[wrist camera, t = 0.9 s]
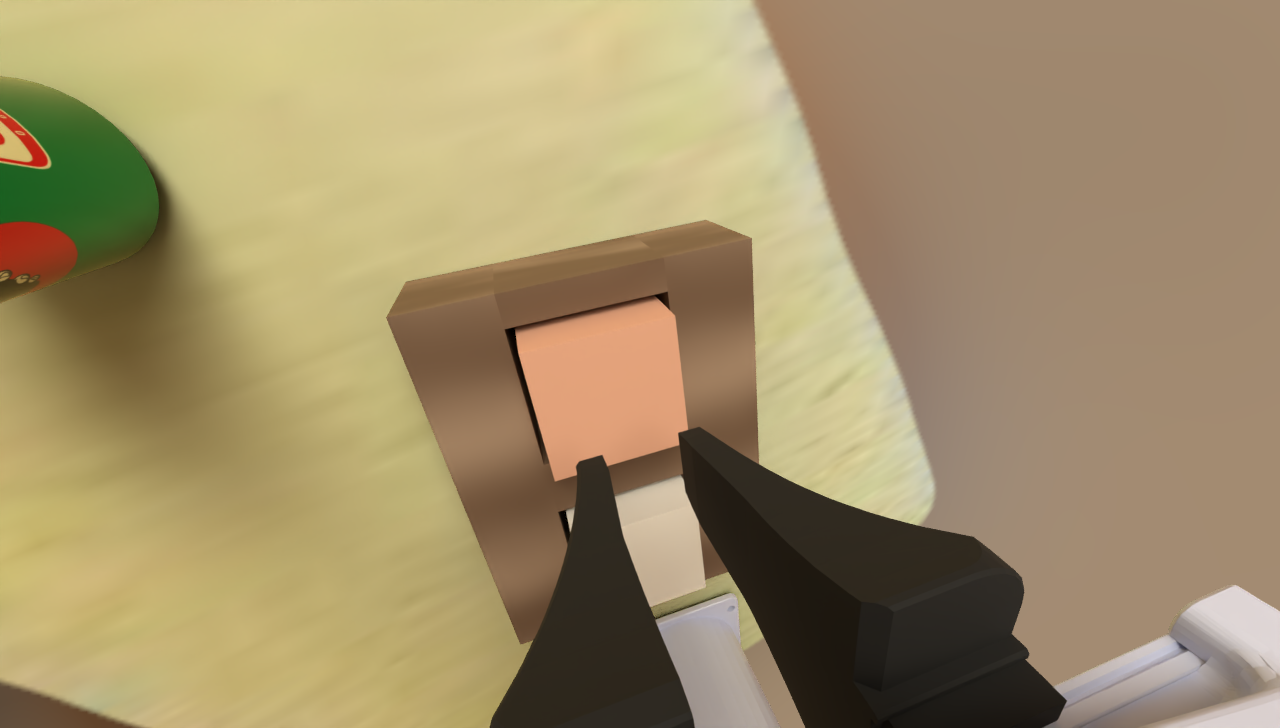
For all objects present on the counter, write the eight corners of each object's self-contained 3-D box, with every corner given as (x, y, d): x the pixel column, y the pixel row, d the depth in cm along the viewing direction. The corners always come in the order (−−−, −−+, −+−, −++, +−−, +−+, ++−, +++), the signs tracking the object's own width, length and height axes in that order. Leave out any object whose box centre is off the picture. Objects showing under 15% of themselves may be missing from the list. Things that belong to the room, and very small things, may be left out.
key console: (727, 505, 28) (762, 559, 24) (516, 574, 25) (520, 644, 22) (706, 220, 20) (751, 238, 17) (405, 282, 18) (386, 317, 15)
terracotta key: (667, 408, 20) (689, 441, 18) (547, 441, 19) (554, 481, 17) (652, 293, 18) (675, 315, 15) (514, 325, 17) (518, 353, 15)
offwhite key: (686, 545, 24) (706, 587, 21) (585, 578, 23) (596, 626, 21) (675, 465, 21) (696, 503, 19) (563, 499, 20) (572, 542, 18)
